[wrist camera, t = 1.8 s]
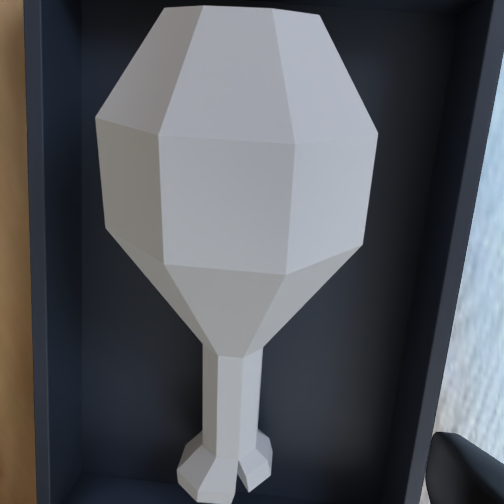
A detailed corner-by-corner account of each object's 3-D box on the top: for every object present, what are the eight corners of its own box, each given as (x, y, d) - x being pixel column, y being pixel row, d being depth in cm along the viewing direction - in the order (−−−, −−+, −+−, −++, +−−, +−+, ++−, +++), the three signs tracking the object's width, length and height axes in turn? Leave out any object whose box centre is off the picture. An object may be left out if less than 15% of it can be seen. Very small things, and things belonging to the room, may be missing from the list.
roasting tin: (386, 514, 21) (405, 580, 18) (73, 475, 22) (36, 532, 19) (473, 1, 17) (521, -37, 13) (71, -24, 17) (20, -66, 14)
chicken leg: (123, 431, 22) (142, 619, 15) (84, 12, 15) (85, -20, 7) (282, 398, 24) (364, 544, 17) (316, 28, 17) (482, 17, 10)
